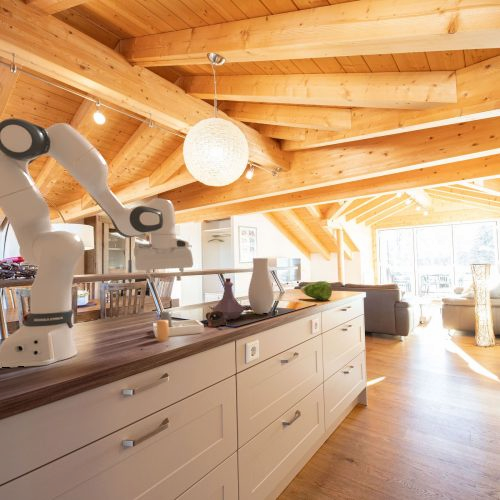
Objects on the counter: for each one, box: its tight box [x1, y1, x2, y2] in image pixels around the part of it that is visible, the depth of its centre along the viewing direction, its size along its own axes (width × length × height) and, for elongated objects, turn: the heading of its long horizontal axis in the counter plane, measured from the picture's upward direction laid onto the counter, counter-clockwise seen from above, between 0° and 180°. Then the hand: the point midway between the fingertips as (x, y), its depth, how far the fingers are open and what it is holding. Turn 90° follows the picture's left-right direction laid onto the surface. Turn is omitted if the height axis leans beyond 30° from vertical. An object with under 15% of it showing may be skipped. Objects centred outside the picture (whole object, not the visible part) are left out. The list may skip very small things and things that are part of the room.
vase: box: [247, 257, 275, 315], centre depth 176 cm, size 14×14×30 cm
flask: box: [212, 277, 246, 321], centre depth 164 cm, size 16×16×20 cm
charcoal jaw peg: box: [160, 310, 172, 327], centre depth 128 cm, size 4×4×8 cm
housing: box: [152, 319, 205, 338], centre depth 129 cm, size 18×13×4 cm
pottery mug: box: [205, 310, 228, 328], centre depth 143 cm, size 12×9×8 cm
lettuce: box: [300, 280, 333, 301], centre depth 233 cm, size 14×23×13 cm, turn 48°
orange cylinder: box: [156, 319, 170, 343], centre depth 116 cm, size 4×4×8 cm
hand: (165, 281), depth 118 cm, fingers open, 8 cm apart
